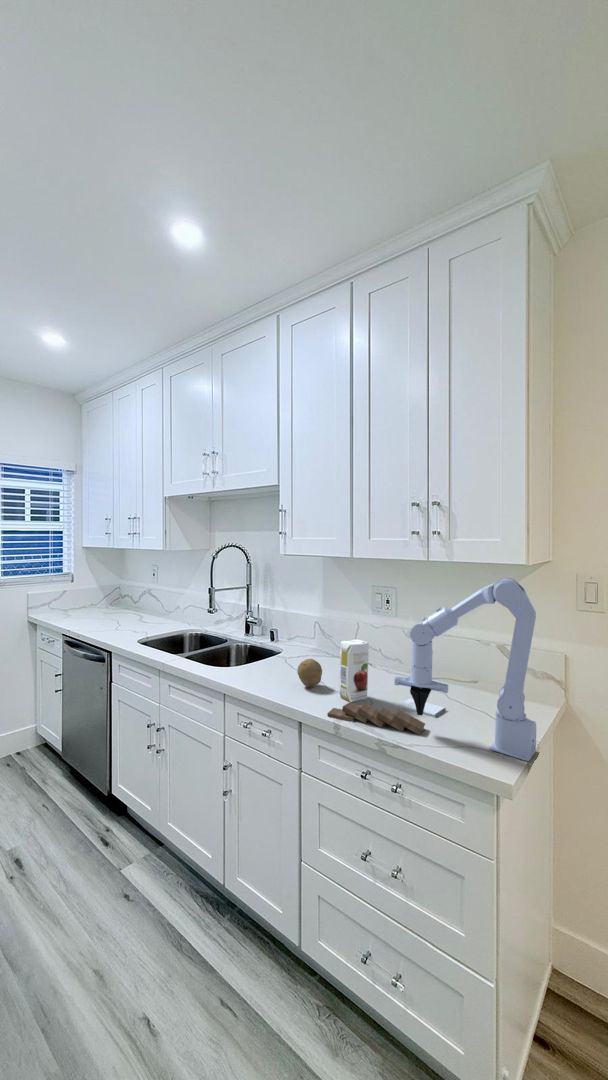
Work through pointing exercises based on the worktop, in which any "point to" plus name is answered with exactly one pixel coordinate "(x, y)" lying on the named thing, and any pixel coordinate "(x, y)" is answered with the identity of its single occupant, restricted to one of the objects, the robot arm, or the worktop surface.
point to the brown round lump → (310, 672)
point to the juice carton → (354, 670)
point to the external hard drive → (428, 709)
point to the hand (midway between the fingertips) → (420, 714)
